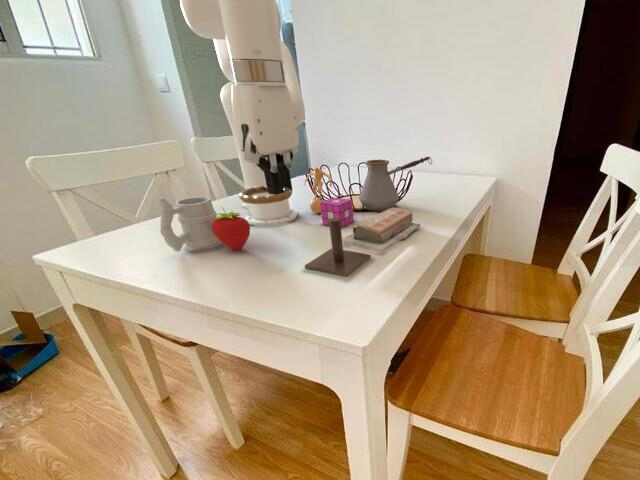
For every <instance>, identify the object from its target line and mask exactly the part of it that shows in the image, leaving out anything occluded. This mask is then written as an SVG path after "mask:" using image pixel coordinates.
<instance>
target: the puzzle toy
mask: <svg viewBox="0 0 640 480" xmlns="http://www.w3.org/2000/svg"><path fill="white" fill-rule="evenodd" d="M322 201H323V202H321V203H320V206H321V213H320V214H321V221H322V222H321V223H322V225H323V226H328V227H330V226H329V219H331V218H339V219H340V224H341V229H342V228H344V227H346V226H348V225H350V224H351V223H354V221H355V219H354V208H353V207H354V206H353V199H348V198H341V197H335V196H334V197H331V198H328V199H326V200H322Z"/></svg>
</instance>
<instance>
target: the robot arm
mask: <svg viewBox="0 0 640 480" xmlns="http://www.w3.org/2000/svg"><path fill="white" fill-rule="evenodd" d="M179 3H180V8H181V11H182V14H183V17H184V19H185V21H186V23H187V25H188V27H189V28H190V30H191V31H192V32H193V33H195V35H197V36H199V37H201V38H204V39H207V40H208V39H209V40H213V43H214V48H215V51H216V55H217V59H218V63H219V65H220V68H221V71H222V73H223V75H224V77H225V78H226V79H227V80H228V81H229V82H226V83H225V84H224V85H223V86H222V88H221V90H220V100H221V104H222V108H223V110H224V113H225V115H226V119H227V121H228V123H229V127H230V130H231V132H232V136H233V140H234V143H235V147H236V151H237V157H238V161H239V165H240V169H241V173H242V174H241V175H242V178H243V184H244V187H245V190H246V189H250V188H253V187H260V186H267V191H268V193H260V194H255V195H252V196H254V197H259V196H272V195H278V194H281V193H284V192H283V187H287V188H289V189H290V190H291V191H292V192H293V185H292V178H291V172H290V170H291V168H292V161H293V159H294V157H295V156H296V155H297V154H298V153H300V148H299V143H300V142H299V141H300V140H299V139H300V138H299V129H298V126H300V125H301V124H303V123H304V120H305V116H306V110H305V103H304V98H303V95H302V91H301V87H300V83H299V79H298V75H297V72H296V67H295V64H294V60H293V57H292V53H291V51H290V49H289V47H288V46H287V45H286V43H284V41H282V40H281V39H280V32H281V30H282V18H281V13H280V8H279V7H280V6H279V4H278V2H277V1H276V0H179ZM240 206H241V208H242V209H243V210H247V211H248V214H246V216H245V220H247V221H248V223H249V225H250V226H267V225H268V226H269V225H278V224H284V223H291V222H293V221H295V219H297V217H298V213H297V211H296V210H295V209H292V208H291V207H290V203H289V198H288V199H286V200H283V201H281V202H275V203H269V204H251V203H245V202H243V203H241V205H240Z"/></svg>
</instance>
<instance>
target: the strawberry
mask: <svg viewBox="0 0 640 480" xmlns="http://www.w3.org/2000/svg"><path fill="white" fill-rule="evenodd" d="M220 207H221V208H222V210H223V211H224V213H223V212H221V213H220V212H219V213H217V215H218V216H217V217H216V218H214V219H212V220H214V221H213V223H212V231H213V233H214V234H215V236H216V237H217V239H219V240H220V241H221V242H222V244H223V245H224V246H226V247H227V248H229V249H230V250H232V251H233V252H239V251H240V252H241V251H242V250H243V248H244V246H245V245H246V243H247V241H248V239H249V237H250V235H251V224H249V223H248V221H247V220H246V218H244V217H241V212H234V210H233V211H232V210H231V211H229V212H226V210H225V208H224V207H223V206H222V205H221V206H220Z"/></svg>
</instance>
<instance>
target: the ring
mask: <svg viewBox="0 0 640 480" xmlns="http://www.w3.org/2000/svg"><path fill="white" fill-rule="evenodd" d="M283 192H284V193H281V194H278V195H272V196H259V197H254V196H252V195H255V194H260V193H268V191H267V186H260V187H253V188H250V189H246V188H245V189H244V190H242V191H241V192H240V193H239V194H238V198H239V200H241V201H242V202H243V203H244V202H245V203H251V204H269V203H275V202H281V201H283V200H286V199H288V200H289V199H290V198H291V196H292V195H293V190H292V191H291V190H290V189H289V188H287V187H283Z"/></svg>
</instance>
